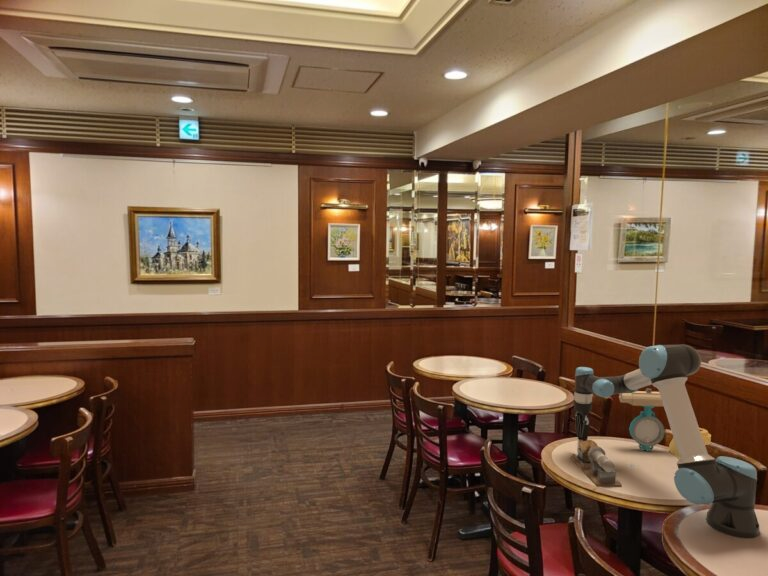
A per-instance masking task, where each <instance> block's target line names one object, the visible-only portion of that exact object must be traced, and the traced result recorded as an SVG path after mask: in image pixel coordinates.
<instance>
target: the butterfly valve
mask: <svg viewBox="0 0 768 576" xmlns="http://www.w3.org/2000/svg"><path fill="white" fill-rule="evenodd" d="M652 390H653V389H652V388H648V387H647V388H646V389H645V390H644V391H642V390H641V391H640V390H637V391H636V392H633V393H621V394H618V399H619V402H620V403H624V404H625V403H626V404H629V405H631V406H636V407H639V406H640V407H643V408H644V409H643V410H642V411H639V414H638V415H637V416H636V417H634V418H633V420H632V421H631V422H630V424H629V428H628V430H629V434H630V436H631V438H632V439H633V440H634V441H635V442H636V443H637V444H638V447H639V449H640V450H643V451H644V450H646V451H645V452H649V451H650V450H651V451H652V450H653V449H654V446H656V445H658V444H659V443H661V441H662V440H663V439H664V436H665V433H666V430H665V426H664V424H663V423H662V422H661V420H660V419H659V418H658V417H656V413H655V412H654V411H652V409H654V408H655V407H664V405H663V402H662V399H661V396H660V393H659V391H652Z"/></svg>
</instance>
